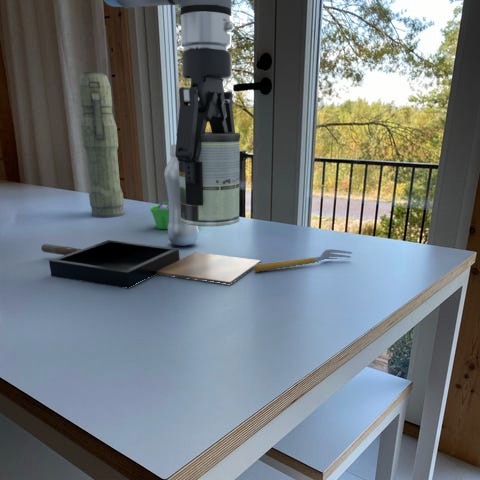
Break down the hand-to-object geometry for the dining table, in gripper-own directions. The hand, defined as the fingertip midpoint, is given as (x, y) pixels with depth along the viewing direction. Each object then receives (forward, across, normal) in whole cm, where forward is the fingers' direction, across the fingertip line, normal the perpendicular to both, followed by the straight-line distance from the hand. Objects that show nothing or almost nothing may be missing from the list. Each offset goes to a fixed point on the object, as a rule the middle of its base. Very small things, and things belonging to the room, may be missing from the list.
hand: (209, 199), depth 80 cm
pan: (+12, -7, +20) cm, 24 cm away
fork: (+12, +8, -15) cm, 21 cm away
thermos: (+12, +34, +49) cm, 61 cm away
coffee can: (+4, 0, 0) cm, 4 cm away
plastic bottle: (+12, +13, +13) cm, 22 cm away
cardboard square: (+12, 0, 0) cm, 12 cm away
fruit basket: (+12, +28, +23) cm, 38 cm away
